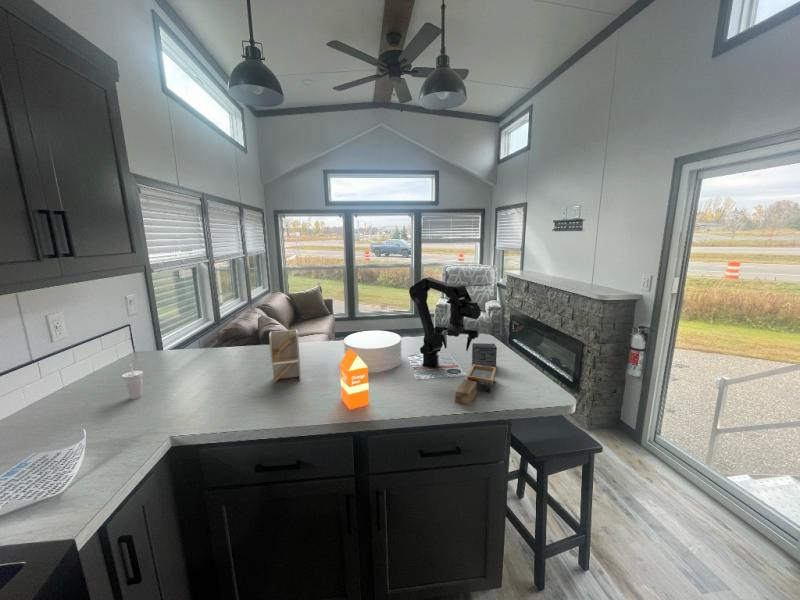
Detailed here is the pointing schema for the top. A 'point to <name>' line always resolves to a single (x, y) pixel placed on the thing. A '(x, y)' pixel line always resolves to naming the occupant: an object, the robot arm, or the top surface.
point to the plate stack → (375, 349)
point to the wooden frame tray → (482, 375)
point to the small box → (484, 354)
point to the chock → (465, 392)
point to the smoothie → (133, 383)
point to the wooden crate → (285, 354)
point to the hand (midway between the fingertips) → (456, 349)
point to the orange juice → (354, 381)
